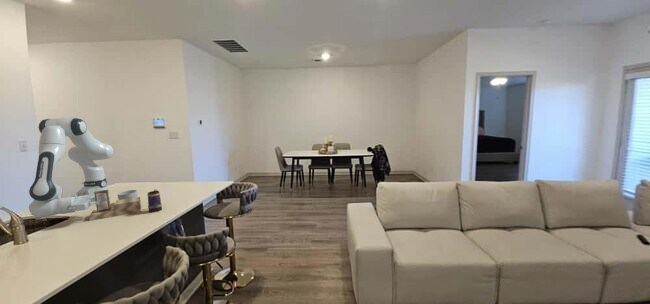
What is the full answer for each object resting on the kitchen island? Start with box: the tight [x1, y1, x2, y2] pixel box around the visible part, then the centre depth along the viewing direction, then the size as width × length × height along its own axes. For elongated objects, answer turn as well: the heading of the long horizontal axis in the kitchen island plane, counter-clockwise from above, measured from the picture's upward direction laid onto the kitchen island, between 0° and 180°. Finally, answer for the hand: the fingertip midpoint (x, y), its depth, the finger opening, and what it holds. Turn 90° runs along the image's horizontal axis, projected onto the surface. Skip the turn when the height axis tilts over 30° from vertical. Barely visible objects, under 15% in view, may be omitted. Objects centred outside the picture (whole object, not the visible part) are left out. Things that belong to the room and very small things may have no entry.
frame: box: [94, 189, 112, 213], centre depth 168 cm, size 6×3×12 cm, turn 119°
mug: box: [147, 189, 163, 213], centre depth 176 cm, size 10×7×12 cm
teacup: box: [116, 189, 138, 200], centre depth 193 cm, size 14×11×8 cm
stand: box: [89, 196, 142, 221], centre depth 172 cm, size 24×10×7 cm, turn 119°
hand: (101, 200), depth 168 cm, fingers open, 8 cm apart
